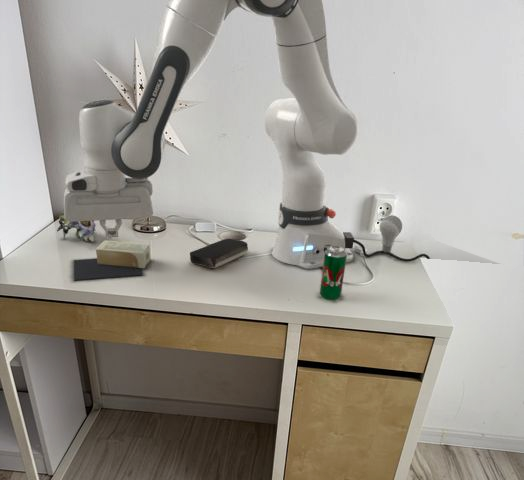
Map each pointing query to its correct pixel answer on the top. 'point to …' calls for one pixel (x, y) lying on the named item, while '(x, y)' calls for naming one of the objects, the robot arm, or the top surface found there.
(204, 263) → the black sponge
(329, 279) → the soda can
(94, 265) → the mat
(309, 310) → the top surface
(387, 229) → the lightbulb
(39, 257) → the top surface
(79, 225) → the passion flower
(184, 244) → the top surface
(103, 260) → the cosmetic box
